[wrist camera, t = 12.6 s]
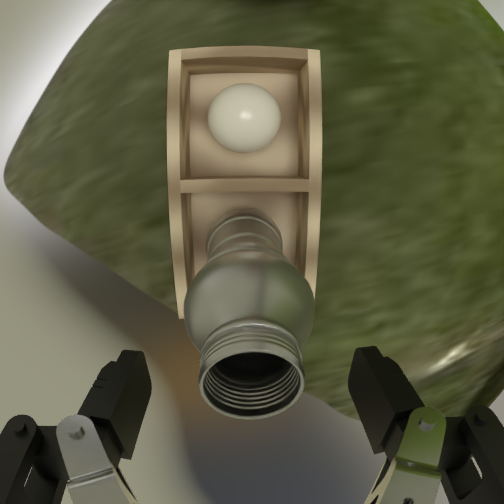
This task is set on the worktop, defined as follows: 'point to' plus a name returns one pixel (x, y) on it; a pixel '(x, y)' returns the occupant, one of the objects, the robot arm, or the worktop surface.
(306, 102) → the crate
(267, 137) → the white ball
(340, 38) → the worktop surface
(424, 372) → the worktop surface
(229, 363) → the plastic bottle
